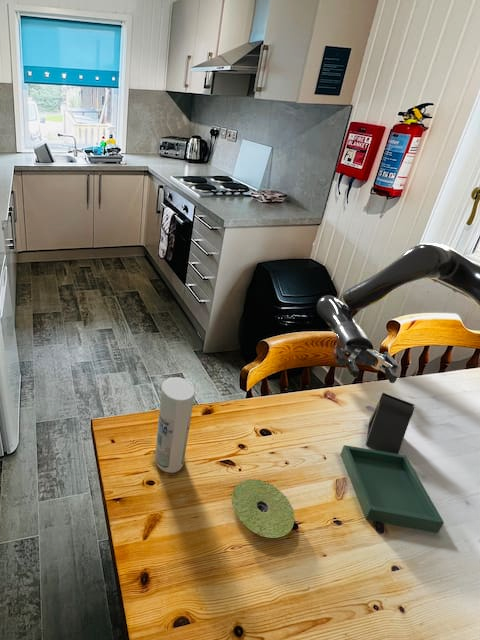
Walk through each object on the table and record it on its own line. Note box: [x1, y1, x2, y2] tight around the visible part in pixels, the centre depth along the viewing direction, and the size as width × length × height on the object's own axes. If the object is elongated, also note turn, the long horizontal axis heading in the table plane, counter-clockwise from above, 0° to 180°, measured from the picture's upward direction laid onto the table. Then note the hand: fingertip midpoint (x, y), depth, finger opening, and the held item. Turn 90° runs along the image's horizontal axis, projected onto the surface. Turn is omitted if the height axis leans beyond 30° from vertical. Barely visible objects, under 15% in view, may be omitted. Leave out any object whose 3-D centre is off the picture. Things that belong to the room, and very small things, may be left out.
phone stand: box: [365, 392, 415, 454], centre depth 90 cm, size 9×6×12 cm, turn 145°
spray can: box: [154, 376, 196, 474], centre depth 81 cm, size 6×6×20 cm
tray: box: [340, 444, 445, 534], centre depth 80 cm, size 13×15×3 cm
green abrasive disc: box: [231, 478, 295, 539], centre depth 75 cm, size 11×11×2 cm
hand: (375, 377), depth 98 cm, fingers open, 8 cm apart
